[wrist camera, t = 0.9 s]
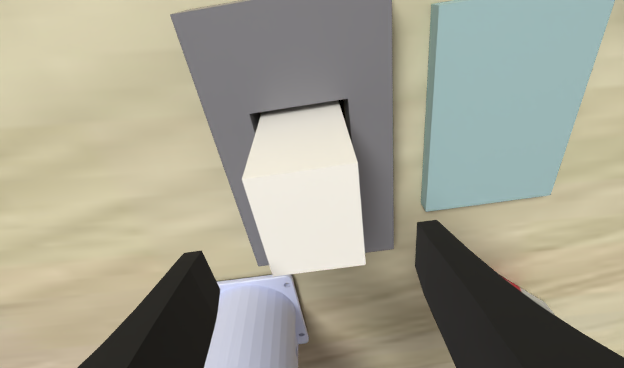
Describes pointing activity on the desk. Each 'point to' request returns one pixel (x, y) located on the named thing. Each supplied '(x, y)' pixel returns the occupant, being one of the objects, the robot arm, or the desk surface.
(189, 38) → the grey board with hole
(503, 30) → the mat
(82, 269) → the desk surface
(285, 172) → the plug
